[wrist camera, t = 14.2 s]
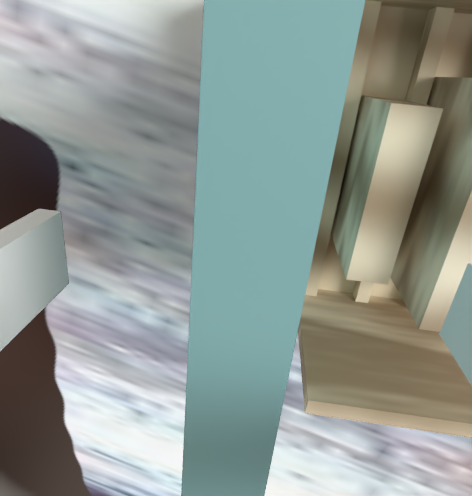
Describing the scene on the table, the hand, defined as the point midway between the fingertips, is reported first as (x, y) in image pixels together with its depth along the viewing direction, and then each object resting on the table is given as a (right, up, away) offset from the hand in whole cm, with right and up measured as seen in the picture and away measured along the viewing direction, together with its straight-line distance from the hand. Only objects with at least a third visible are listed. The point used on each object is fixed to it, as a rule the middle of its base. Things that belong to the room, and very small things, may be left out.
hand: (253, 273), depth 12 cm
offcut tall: (+13, +6, +14) cm, 20 cm away
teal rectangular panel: (+2, +7, +15) cm, 17 cm away
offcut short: (+8, +6, +14) cm, 18 cm away
